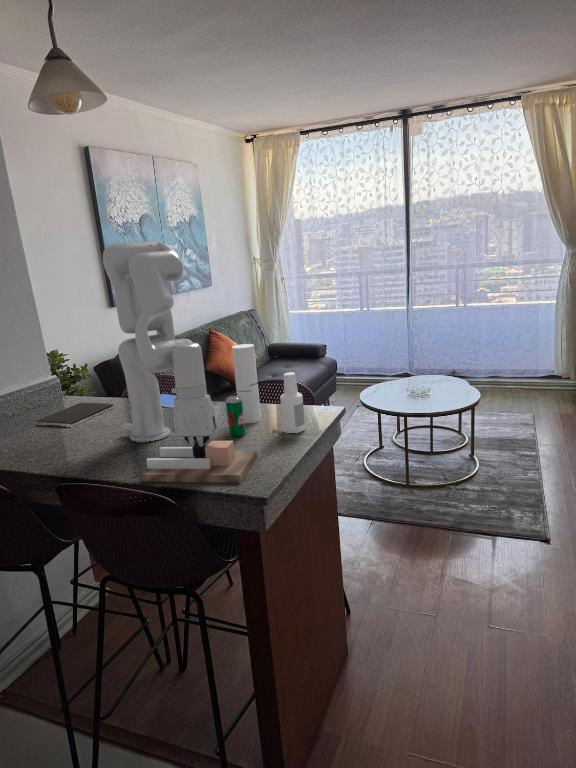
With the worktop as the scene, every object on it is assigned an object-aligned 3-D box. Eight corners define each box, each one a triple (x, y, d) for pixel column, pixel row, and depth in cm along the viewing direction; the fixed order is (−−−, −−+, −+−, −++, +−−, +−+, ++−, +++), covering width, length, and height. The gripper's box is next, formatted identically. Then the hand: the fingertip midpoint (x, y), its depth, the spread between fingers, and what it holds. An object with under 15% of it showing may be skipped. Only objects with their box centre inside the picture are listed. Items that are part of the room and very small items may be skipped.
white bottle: (307, 432, 166) (302, 374, 162) (284, 435, 166) (279, 377, 161) (302, 425, 173) (298, 370, 169) (281, 428, 172) (276, 372, 168)
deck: (142, 481, 140) (141, 474, 140) (168, 457, 155) (167, 450, 155) (240, 482, 135) (239, 475, 134) (257, 457, 150) (256, 450, 149)
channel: (147, 468, 143) (146, 459, 142) (162, 455, 152) (160, 447, 151) (209, 469, 139) (208, 459, 139) (220, 455, 148) (219, 446, 147)
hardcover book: (36, 427, 198) (35, 420, 197) (81, 408, 218) (80, 402, 218) (71, 429, 192) (70, 422, 191) (114, 409, 212) (113, 403, 212)
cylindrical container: (265, 419, 182) (258, 345, 176) (246, 424, 179) (238, 349, 172) (254, 415, 188) (246, 343, 182) (235, 420, 184) (227, 346, 178)
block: (207, 465, 142) (204, 447, 140) (213, 458, 146) (211, 440, 145) (229, 466, 140) (227, 447, 139) (235, 458, 145) (233, 440, 144)
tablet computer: (138, 404, 217) (138, 400, 217) (163, 395, 227) (162, 392, 226) (171, 409, 205) (170, 406, 205) (195, 400, 215) (195, 397, 215)
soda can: (243, 438, 166) (239, 400, 163) (227, 438, 167) (222, 400, 164) (247, 432, 171) (243, 395, 168) (232, 432, 172) (227, 395, 169)
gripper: (158, 396, 138) (168, 464, 142) (214, 395, 135) (222, 465, 139) (170, 388, 145) (179, 454, 149) (224, 387, 142) (232, 453, 146)
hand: (200, 459), depth 144 cm, fingers closed
